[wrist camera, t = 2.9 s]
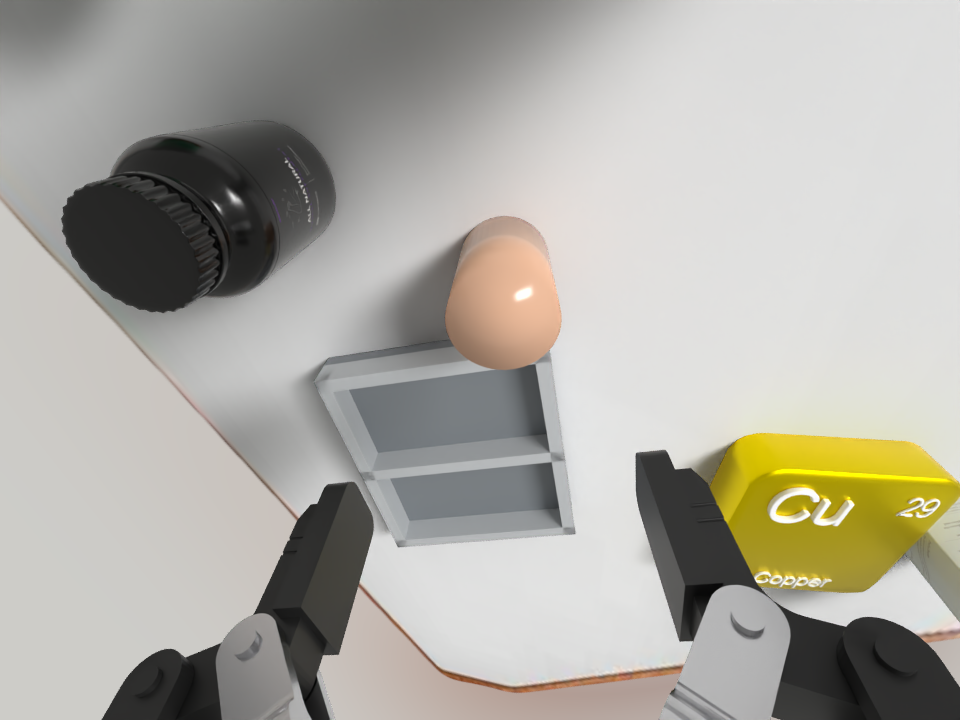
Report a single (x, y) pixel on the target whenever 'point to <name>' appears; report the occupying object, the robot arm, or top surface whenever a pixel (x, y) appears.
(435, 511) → the rack
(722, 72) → the top surface
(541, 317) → the peach rounded capsule
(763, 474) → the element tile
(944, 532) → the skincare box
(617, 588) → the top surface
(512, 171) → the top surface
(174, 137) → the supplement bottle
